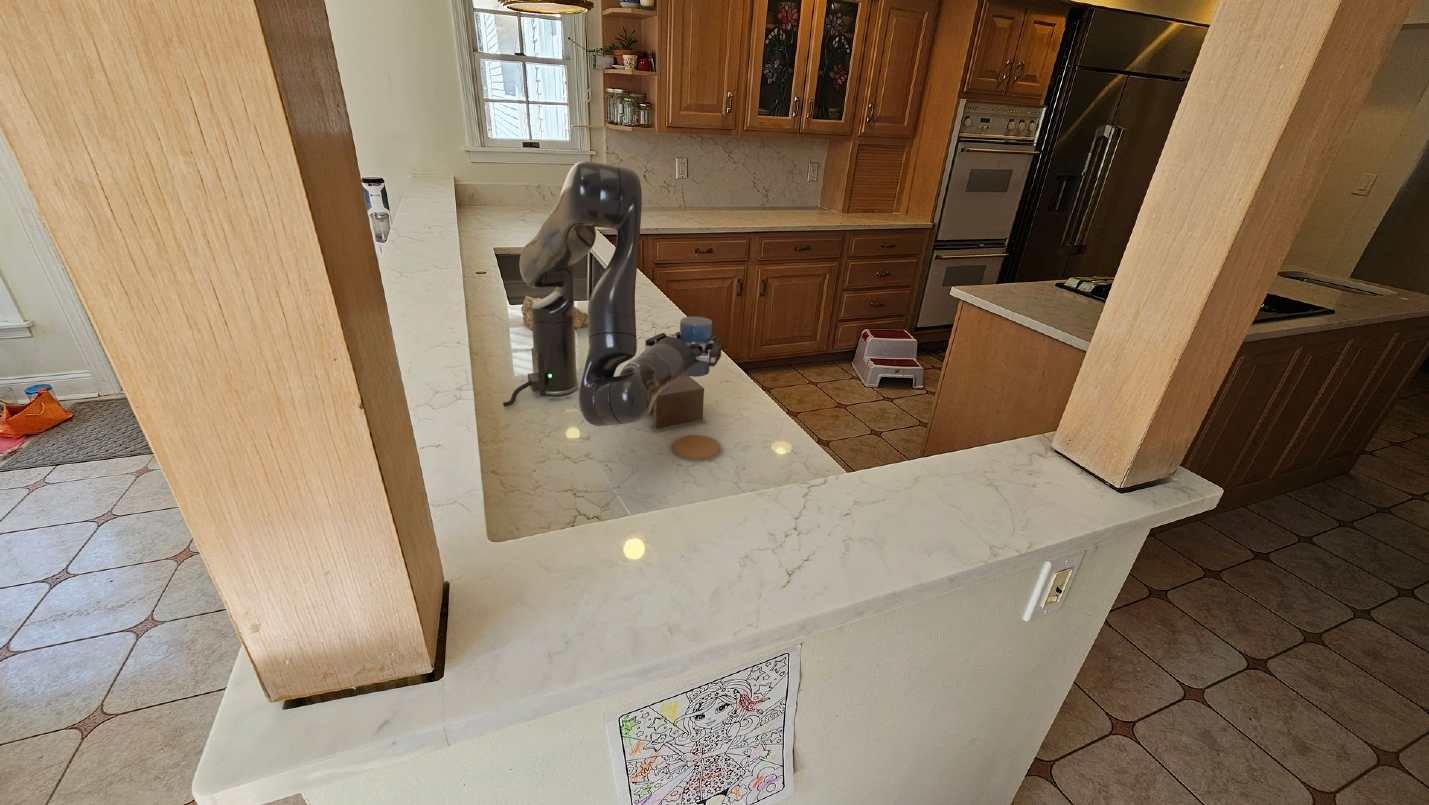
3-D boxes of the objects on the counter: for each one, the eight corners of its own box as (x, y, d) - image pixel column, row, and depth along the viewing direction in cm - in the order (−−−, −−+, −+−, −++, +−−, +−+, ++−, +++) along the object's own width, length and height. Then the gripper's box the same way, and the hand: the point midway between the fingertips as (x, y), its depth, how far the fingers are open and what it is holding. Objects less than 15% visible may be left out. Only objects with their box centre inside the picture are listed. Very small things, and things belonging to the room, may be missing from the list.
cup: (686, 378, 114) (689, 326, 110) (673, 367, 119) (675, 317, 115) (714, 374, 117) (718, 324, 113) (700, 363, 122) (703, 315, 117)
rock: (513, 349, 165) (503, 290, 166) (512, 362, 185) (503, 309, 186) (615, 337, 174) (605, 281, 175) (603, 351, 195) (594, 301, 195)
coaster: (686, 463, 116) (686, 460, 116) (666, 442, 123) (666, 439, 123) (727, 454, 120) (727, 451, 120) (706, 434, 127) (706, 431, 127)
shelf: (656, 430, 128) (656, 396, 124) (638, 411, 136) (638, 378, 132) (702, 421, 133) (704, 388, 129) (682, 403, 141) (683, 371, 137)
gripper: (703, 351, 99) (736, 324, 114) (625, 337, 104) (666, 313, 118) (701, 393, 103) (733, 362, 117) (625, 377, 107) (665, 349, 121)
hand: (699, 337), depth 117 cm, fingers closed on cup, 6 cm apart
